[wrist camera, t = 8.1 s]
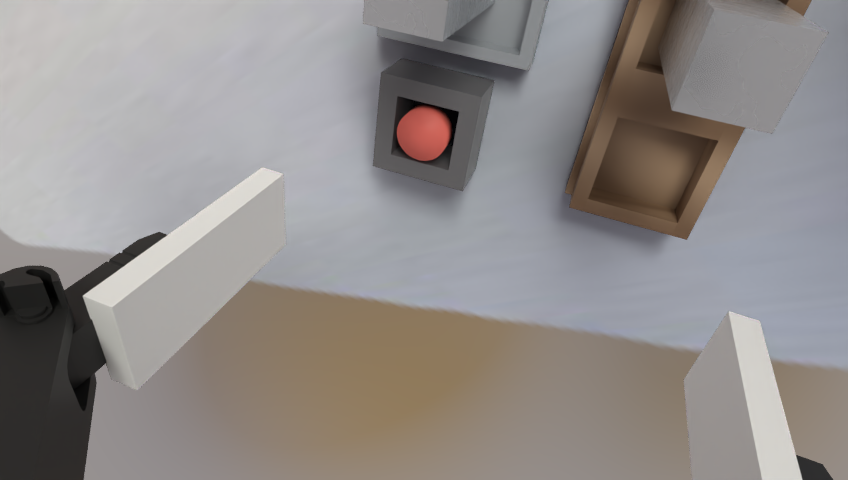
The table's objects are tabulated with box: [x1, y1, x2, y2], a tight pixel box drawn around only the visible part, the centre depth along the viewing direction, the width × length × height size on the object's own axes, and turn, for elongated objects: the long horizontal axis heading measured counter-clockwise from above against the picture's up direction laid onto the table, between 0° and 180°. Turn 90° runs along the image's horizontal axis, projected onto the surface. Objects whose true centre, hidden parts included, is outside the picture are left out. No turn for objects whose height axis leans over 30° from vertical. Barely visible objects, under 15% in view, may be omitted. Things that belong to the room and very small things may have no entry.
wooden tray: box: [565, 0, 811, 240], centre depth 32 cm, size 17×9×3 cm, turn 172°
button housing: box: [373, 59, 495, 191], centre depth 38 cm, size 7×7×4 cm
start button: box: [397, 104, 452, 161], centre depth 36 cm, size 4×4×2 cm
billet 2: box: [658, 0, 829, 134], centre depth 25 cm, size 4×4×12 cm
